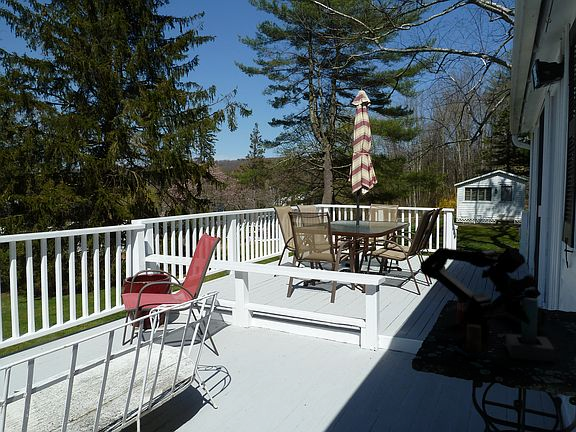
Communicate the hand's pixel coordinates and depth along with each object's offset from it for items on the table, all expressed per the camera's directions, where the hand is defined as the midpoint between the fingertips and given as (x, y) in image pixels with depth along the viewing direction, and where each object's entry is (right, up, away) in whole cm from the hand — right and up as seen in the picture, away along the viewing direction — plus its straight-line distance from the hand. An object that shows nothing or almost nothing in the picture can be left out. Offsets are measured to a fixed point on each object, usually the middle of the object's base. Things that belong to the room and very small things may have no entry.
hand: (533, 321), depth 142 cm
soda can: (-8, -9, +33) cm, 35 cm away
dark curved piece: (+14, -9, +34) cm, 38 cm away
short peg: (-17, -11, +5) cm, 21 cm away
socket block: (-1, -11, +2) cm, 11 cm away
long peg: (-1, -7, +2) cm, 7 cm away
